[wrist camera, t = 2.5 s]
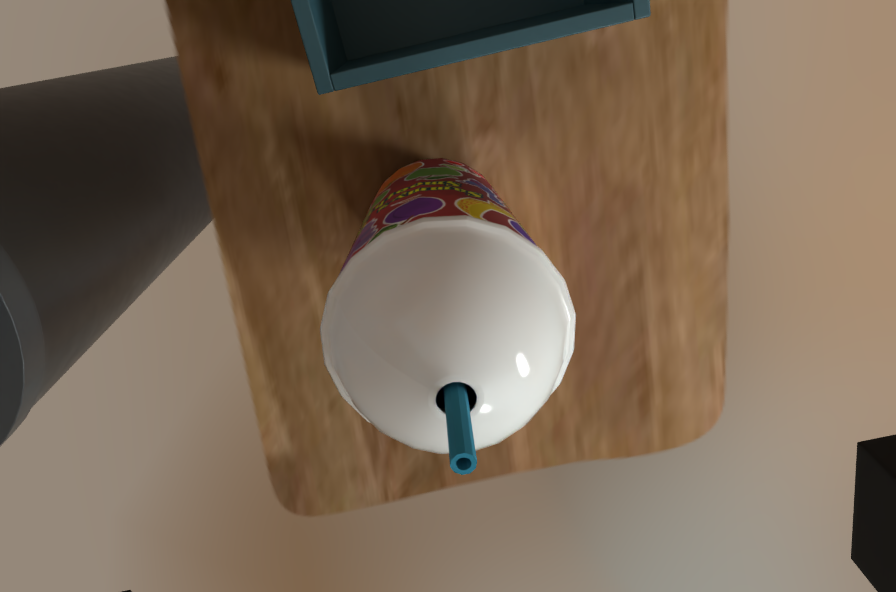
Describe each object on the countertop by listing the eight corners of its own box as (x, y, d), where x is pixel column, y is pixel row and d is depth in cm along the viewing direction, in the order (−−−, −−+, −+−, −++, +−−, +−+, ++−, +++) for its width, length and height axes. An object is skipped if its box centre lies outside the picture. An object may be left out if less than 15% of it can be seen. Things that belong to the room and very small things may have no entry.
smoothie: (447, 101, 31) (497, 227, 13) (545, 227, 34) (700, 475, 16) (321, 207, 33) (209, 450, 15) (425, 318, 36) (438, 636, 18)
